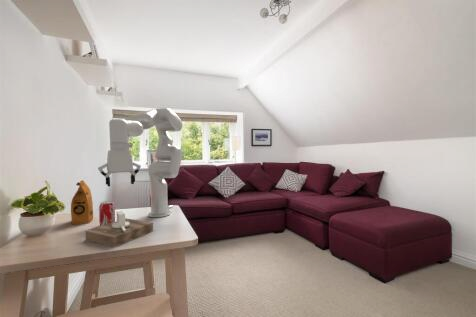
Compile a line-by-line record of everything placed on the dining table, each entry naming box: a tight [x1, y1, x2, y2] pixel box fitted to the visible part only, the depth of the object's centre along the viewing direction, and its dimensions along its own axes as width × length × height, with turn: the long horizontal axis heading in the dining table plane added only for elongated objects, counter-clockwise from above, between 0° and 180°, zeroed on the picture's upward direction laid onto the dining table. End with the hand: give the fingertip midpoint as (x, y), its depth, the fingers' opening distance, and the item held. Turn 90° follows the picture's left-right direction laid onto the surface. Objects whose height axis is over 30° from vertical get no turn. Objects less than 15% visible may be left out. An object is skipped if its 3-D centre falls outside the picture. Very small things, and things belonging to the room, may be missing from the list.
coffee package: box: [70, 179, 94, 226], centre depth 124 cm, size 10×12×22 cm
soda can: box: [98, 200, 116, 227], centre depth 117 cm, size 7×7×12 cm
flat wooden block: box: [85, 217, 154, 248], centre depth 103 cm, size 20×18×4 cm
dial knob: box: [112, 210, 130, 231], centre depth 100 cm, size 13×7×6 cm, turn 36°
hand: (120, 184), depth 103 cm, fingers open, 9 cm apart
